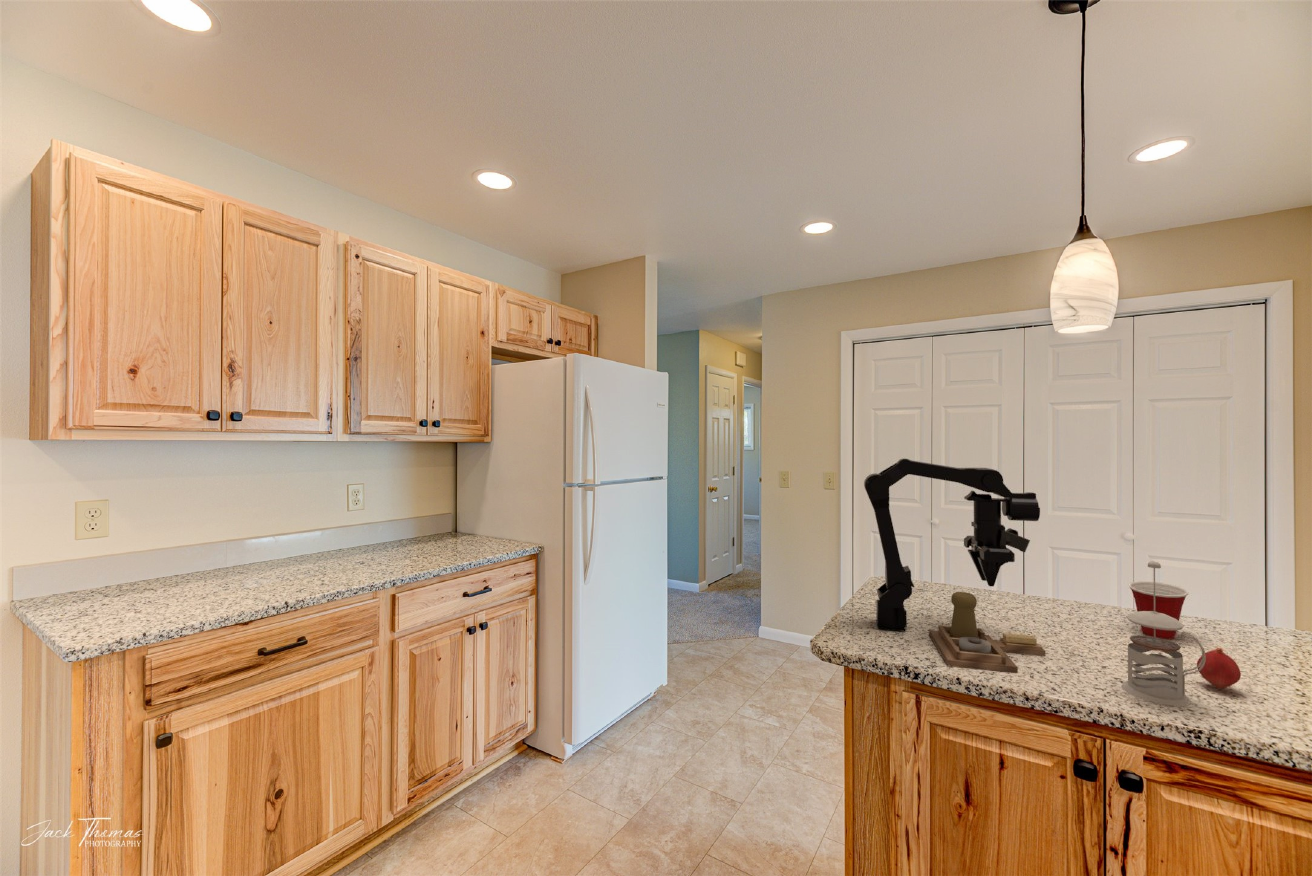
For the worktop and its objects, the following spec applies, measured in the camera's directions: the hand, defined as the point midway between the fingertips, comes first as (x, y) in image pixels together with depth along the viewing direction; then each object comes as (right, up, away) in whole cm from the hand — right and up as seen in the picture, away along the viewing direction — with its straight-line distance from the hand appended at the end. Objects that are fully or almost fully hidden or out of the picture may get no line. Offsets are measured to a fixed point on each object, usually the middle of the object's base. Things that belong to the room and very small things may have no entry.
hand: (987, 583), depth 132 cm
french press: (+14, -13, -30) cm, 36 cm away
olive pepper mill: (-9, -12, -5) cm, 16 cm away
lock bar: (+2, -12, -9) cm, 15 cm away
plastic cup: (+42, -13, 0) cm, 44 cm away
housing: (-6, -13, -11) cm, 18 cm away
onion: (+27, -13, -28) cm, 41 cm away
